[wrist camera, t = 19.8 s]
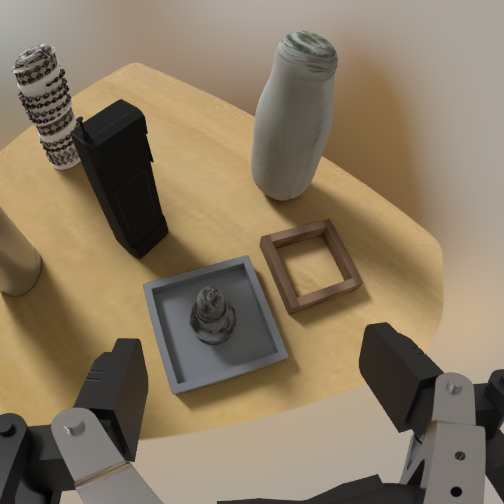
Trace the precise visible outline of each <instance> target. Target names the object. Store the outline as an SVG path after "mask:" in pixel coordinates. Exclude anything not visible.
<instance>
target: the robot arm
mask: <svg viewBox="0 0 504 504" xmlns="http://www.w3.org/2000/svg"><path fill="white" fill-rule="evenodd" d="M40 270H41V258H40V255H39V253H38V252H37V250H36V249H35V248H34V247H33V246H32V244H31V243H30V242H29V241H28V240H27V239H26V237H25V236H24V235H23V234H22V233H21V232H20V230H19V229H18V228H17V227H16V226H15V224H14V223H13V222H12V221H11V219H10V218H9V217H8V216H7V215H6V213H5V212H4V211H3V209H2V208H1V207H0V293H3V292H5V293H7V294H9V295H11V296H19V295H22V294H24V293H26V292H27V291H29V290H30V289H31V288H32V286H33V285H34V284H35V282H36V281H37V279H38V276H39V274H40ZM359 369H360V373H361V375H362V376H363V378H364V380H365V381H366V383H367V384H368V386H369V387H370V389H371V390H372V392H373V393H374V395H375V396H376V398H377V399H378V401H379V402H380V404H381V405H382V407H383V409H384V410H385V412H386V413H387V415H388V416H389V418H390V419H391V421H392V422H393V424H394V426H395V427H396V429H397V430H398V432H399V433H401V432H404V431H407V430H410V429H412V430H413V432H414V433H413V435H412V437H411V440H410V445H409V449H408V453H407V458H406V462H405V465H404V469H403V473H402V477H401V479H400V482H399V484H398V483H382V481H381V479H380V478H379V475H378V474H376V475H373V476H370V477H367V478H363V479H359V480H356V481H352V482H348V483H344V484H341V485H339V486H337V487H335V488H333V489H331V490H329V491H326V492H324V493H322V494H319V495H317V496H315V497H313V498H310V499H308V500H303V501H293V500H275V499H261V498H257V499H246V500H233V501H217V504H483V500H484V486H485V474H486V476H487V477H488V479H489V480H490V482H491V484H492V485H493V486H494V488H495V490H496V491H497V493H498V495H499V496H500V498H501V499H502V501H503V503H504V434H503V433H502V432H501V430H500V427H501V425H502V424H503V422H504V369H502V370H501V369H500V370H496V371H494V372H493V373H492V374H491V376H490V379H489V381H488V383H483V384H472V382H471V381H470V380H469V379H468V378H466V377H465V376H463V375H461V374H458V373H444V372H443V371H442V370H441V369H440V368H439V367H438V366H437V365H436V364H435V363H434V362H433V361H432V360H431V359H430V358H429V357H428V356H427V355H426V354H424V352H423V351H422V350H421V349H420V348H418V346H417V345H416V344H415V343H414V342H413V341H412V340H411V339H410V338H408V337H406V336H404V335H402V334H401V333H397V332H396V330H395V329H394V328H393V327H392V326H391V325H390V324H389V323H387V322H383V323H376V324H369V325H367V326H366V328H365V331H364V337H363V342H362V347H361V352H360V357H359ZM147 393H148V374H147V370H146V365H145V360H144V355H143V350H142V345H141V342H140V340H139V339H128V338H118V339H117V341H116V343H115V345H114V348H113V350H112V352H104V353H103V354H101V355H100V356H99V357H98V358H97V359H96V360H95V361H94V363H93V365H92V367H91V369H90V372H89V374H88V376H87V380H85V382H84V384H83V386H82V389H81V391H80V393H79V395H78V398H77V400H76V402H75V404H74V407H73V408H70V409H66V410H64V411H62V412H60V413H59V414H58V415H57V416H56V417H55V418H54V419H53V421H52V424H50V425H41V426H29V427H28V426H27V424H26V422H25V421H24V419H23V418H22V417H21V416H19V415H17V414H14V413H6V414H2V415H0V504H59V503H60V498H61V493H62V491H68V490H77V492H78V494H79V496H80V498H81V499H82V501H83V503H84V504H163V503H162V501H161V500H160V499H159V498H158V497H157V496H156V494H155V493H154V492H153V491H152V490H151V488H150V487H149V486H148V485H147V484H146V482H145V481H144V480H143V478H142V477H141V476H140V475H139V473H138V472H137V471H136V470H135V468H134V467H133V466H132V464H131V463H130V462H126V461H131V462H135V456H136V451H137V444H138V440H139V434H140V429H141V423H142V418H143V413H144V408H145V403H146V398H147Z"/></svg>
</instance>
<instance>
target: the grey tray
mask: <svg viewBox="0 0 504 504" xmlns="http://www.w3.org/2000/svg"><path fill="white" fill-rule="evenodd" d="M208 286H213V287H217V288H219V289H220V290H221V291H222V293H223V294H224V297H225V299H226V300H227V301H229V302H230V303H231V304H232V306H233V307H234V309H235V311H236V315H237V323H236V327H235V329H234V331H233V332H232V334H231V337H230V338H229V339H228V340H227V341H225V342H224V343H222V344H219V345H207V344H205V343H203V342H201V341H200V340H199V339H198V338H197V336H196V335H195V334H194V333H193V331H192V330H191V328H190V325H189V320H188V316H189V312H190V309H191V307H192V305H193V304H194V303H195V302H196V301H197V297H198V294H199V293H200V291H201V290H202V289H204V288H205V287H208ZM143 288H144V292H145V296H146V301H147V305H148V309H149V313H150V317H151V321H152V325H153V329H154V333H155V336H156V340H157V344H158V347H159V351H160V355H161V358H162V362H163V365H164V368H165V372H166V375H167V378H168V382H169V385H170V388H171V391H172V394H174V395H177V394H181V393H184V392H188V391H192V390H195V389H199V388H202V387H206V386H209V385H212V384H216V383H219V382H222V381H225V380H228V379H232V378H235V377H238V376H241V375H244V374H247V373H250V372H253V371H256V370H259V369H262V368H264V367H267V366H270V365H273V364H276V363H278V362H281V361H284V360H286V359H287V358H288V357H289V356H288V353H287V351H286V348H285V346H284V343H283V341H282V338H281V336H280V333H279V331H278V328H277V326H276V323H275V321H274V318H273V316H272V313H271V311H270V308H269V306H268V303H267V301H266V298H265V296H264V293H263V291H262V288H261V286H260V283H259V281H258V278H257V276H256V273H255V271H254V268H253V266H252V263H251V260H250V258H249V255H246V256H242V257H238V258H235V259H231V260H228V261H224V262H220V263H217V264H213V265H210V266H206V267H202V268H199V269H195V270H192V271H188V272H185V273H181V274H177V275H174V276H170V277H167V278H163V279H159V280H156V281H152V282H149V283H145V284H143Z"/></svg>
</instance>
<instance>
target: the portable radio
mask: <svg viewBox="0 0 504 504" xmlns="http://www.w3.org/2000/svg"><path fill="white" fill-rule="evenodd" d="M82 120H83V117H79V118H77V120H76V121H77V122H79V124H80V125H79V126H78V127H77V128H75V129H74V130H72V131H71V132H70V135H71V138H72V140H73V143H74V145H75V148H76V150H77V153H78V155H79V158H80V160H81V162H82V165H83V167H84V169H85V172H86V174H87V176H88V179H89V181H90V183H91V185H92V188H93V190H94V192H95V194H96V196H97V199H98V201H99V203H100V205H101V208H102V210H103V212H104V214H105V216H106V218H107V220H108V223H109V225H110V227H111V229H112V231H113V233H114V235H115V238H116V240H117V241H118V242H119V243H120V244H121V245H122V246H123V247H124V248H125V249H126V250H127V251H128V252H129V253H130V254H131V255H133V256H134V257H137V258H139V259H141V258H143V257H144V256H145V255H146V254H147V253H148V252H149V251H150V250H151V249H152V248H153V247H154V246H155V245H156V244H157V243H158V242H160V241H161V240H162V239H163V238H164V237H165V236H166V235H167V234H168V227H167V223H166V220H165V217H164V216H163V214H162V210H161V206H160V202H159V198H158V194H157V189H156V185H155V180H154V176H153V171H152V167H151V162H154V161H153V158H152V154H151V150H150V147H149V143H148V140H147V136H146V134H148V132H147V126H146V121H145V116H144V114H143V113H142V112H141V111H140V110H139V109H138V108H137V107H135V106H133V105H131V104H130V103H128V102H126V101H124V100H122V99H120V100H118V101H116V102H115V103H113V104H111V105H110V106H108V107H107V108H105V109H103V110H102V111H100V112H99V113H97V114H96V115H94V116H93V117H91V118H90V119H88V120H87V121H85V122H84V123H83V122H82ZM150 161H151V162H150Z"/></svg>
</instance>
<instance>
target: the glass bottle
mask: <svg viewBox="0 0 504 504" xmlns="http://www.w3.org/2000/svg"><path fill="white" fill-rule="evenodd" d="M337 63H338V59H337V53H336V51H335V49H334V47H333V46H332V45H331V44H330V43H329V42H328V41H327V40H326V39H324V38H322V37H320V36H318V35H316V34H314V33H311V32H306V31H298V32H293V33H291V34H288V35H287V36H285V37H284V38H283V39H282V41H281V42H280V43H279V45H278V47H277V50H276V53H275V59H274V64H273V68H272V72H271V75H270V78H269V80H268V82H267V84H266V86H265V88H264V90H263V93H262V95H261V97H260V100H259V103H258V106H257V111H256V116H255V126H254V138H253V148H252V156H251V172H252V176H253V179H254V181H255V183H256V185H257V186H258V188H259V189H260V190H261V191H262V192H263V193H265V194H266V195H268V196H269V197H271V198H273V199H276V200H280V201H286V200H290V199H293V198H296V197H298V196H300V195H301V194H302V193H303V192H304V191H305V190H306V189H307V188H308V186H309V184H310V183H311V181H312V179H313V177H314V174H315V172H316V169H317V166H318V164H319V161H320V158H321V156H322V153H323V150H324V147H325V145H326V142H327V139H328V136H329V134H330V130H331V127H332V122H333V87H334V74H335V71H336V68H337Z"/></svg>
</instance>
